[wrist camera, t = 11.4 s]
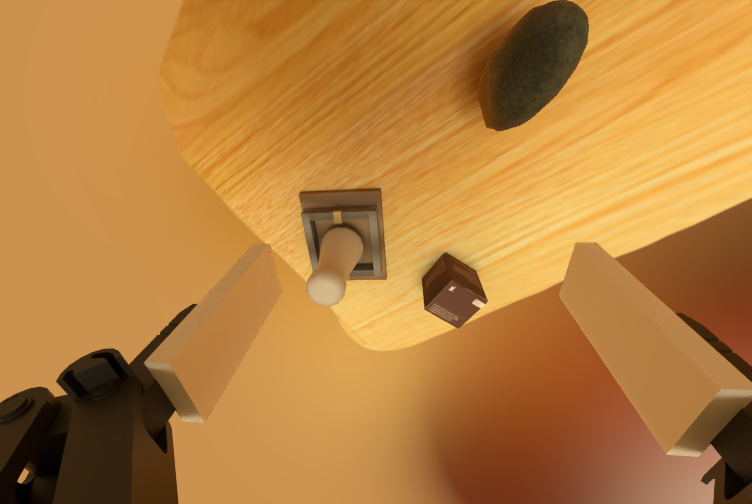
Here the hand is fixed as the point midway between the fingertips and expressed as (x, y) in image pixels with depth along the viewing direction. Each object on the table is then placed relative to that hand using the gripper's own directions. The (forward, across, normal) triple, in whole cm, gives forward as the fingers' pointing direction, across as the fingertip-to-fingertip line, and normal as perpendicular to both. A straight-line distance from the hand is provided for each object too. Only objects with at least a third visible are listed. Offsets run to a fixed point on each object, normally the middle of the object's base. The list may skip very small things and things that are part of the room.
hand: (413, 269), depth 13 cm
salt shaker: (+26, -9, -12) cm, 30 cm away
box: (+27, +6, -19) cm, 34 cm away
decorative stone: (+28, +9, +7) cm, 30 cm away
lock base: (+27, -9, -12) cm, 31 cm away
